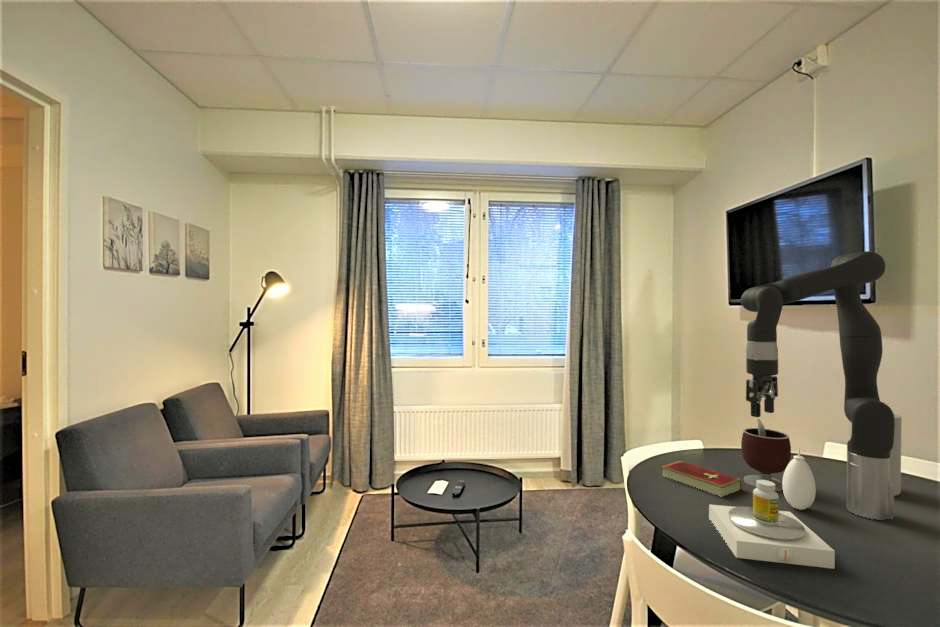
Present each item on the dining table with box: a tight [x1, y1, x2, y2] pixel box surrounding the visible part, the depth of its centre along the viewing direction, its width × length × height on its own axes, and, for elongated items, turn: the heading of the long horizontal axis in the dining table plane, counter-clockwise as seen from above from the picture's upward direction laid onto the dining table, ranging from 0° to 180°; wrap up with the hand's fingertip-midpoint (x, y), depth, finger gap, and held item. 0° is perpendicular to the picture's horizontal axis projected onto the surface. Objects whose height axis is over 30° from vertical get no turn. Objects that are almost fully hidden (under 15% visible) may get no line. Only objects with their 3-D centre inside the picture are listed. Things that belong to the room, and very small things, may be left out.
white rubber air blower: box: [781, 447, 817, 511], centre depth 130 cm, size 8×8×18 cm
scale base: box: [708, 503, 836, 570], centre depth 111 cm, size 20×20×4 cm
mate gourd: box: [740, 418, 792, 492], centre depth 150 cm, size 16×14×20 cm
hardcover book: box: [660, 460, 743, 498], centre depth 149 cm, size 12×21×4 cm, turn 33°
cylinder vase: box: [848, 412, 903, 496], centre depth 145 cm, size 12×12×25 cm
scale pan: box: [729, 506, 805, 540], centre depth 111 cm, size 16×16×1 cm
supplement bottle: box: [752, 480, 780, 525], centre depth 111 cm, size 5×5×10 cm
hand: (762, 414), depth 125 cm, fingers open, 8 cm apart
